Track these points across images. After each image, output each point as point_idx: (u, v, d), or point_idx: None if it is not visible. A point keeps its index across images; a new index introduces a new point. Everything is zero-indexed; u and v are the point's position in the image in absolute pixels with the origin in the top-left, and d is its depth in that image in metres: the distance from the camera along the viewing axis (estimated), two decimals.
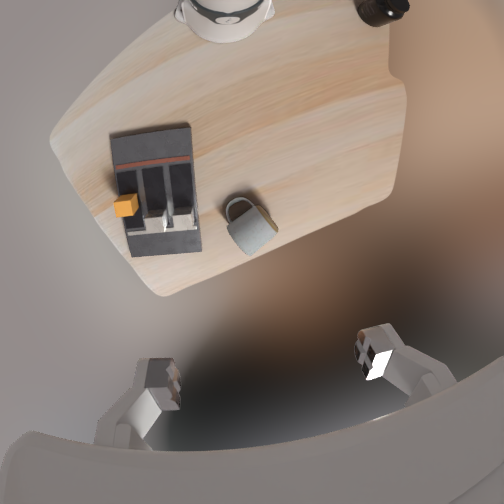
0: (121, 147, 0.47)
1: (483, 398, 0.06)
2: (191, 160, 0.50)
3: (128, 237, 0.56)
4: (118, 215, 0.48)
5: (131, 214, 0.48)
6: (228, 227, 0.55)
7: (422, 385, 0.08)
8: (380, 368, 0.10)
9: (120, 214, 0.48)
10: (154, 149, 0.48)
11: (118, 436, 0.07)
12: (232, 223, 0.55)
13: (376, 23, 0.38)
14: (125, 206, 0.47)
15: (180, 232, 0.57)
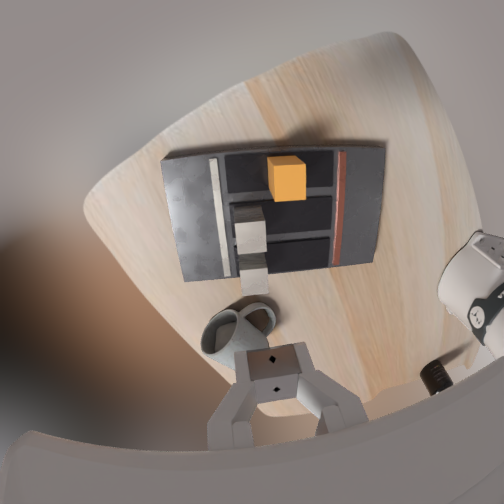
0: (370, 164, 0.30)
1: (483, 398, 0.06)
2: (331, 265, 0.37)
3: (204, 158, 0.29)
4: (277, 171, 0.25)
5: (277, 198, 0.26)
6: (240, 322, 0.37)
7: (323, 418, 0.08)
8: (289, 390, 0.10)
9: (279, 175, 0.25)
10: (356, 216, 0.33)
11: (238, 436, 0.07)
12: (245, 323, 0.38)
13: (425, 378, 0.55)
14: (295, 188, 0.26)
15: (216, 252, 0.34)
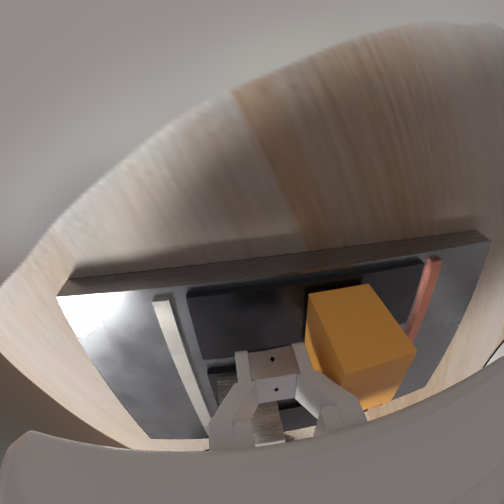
0: (466, 271, 0.14)
1: (483, 398, 0.06)
2: None
3: (140, 296, 0.12)
4: (351, 379, 0.08)
5: None
6: None
7: (321, 418, 0.08)
8: (288, 390, 0.10)
9: (352, 385, 0.09)
10: (424, 348, 0.17)
11: (239, 436, 0.07)
12: None
13: None
14: (377, 394, 0.09)
15: (193, 418, 0.18)
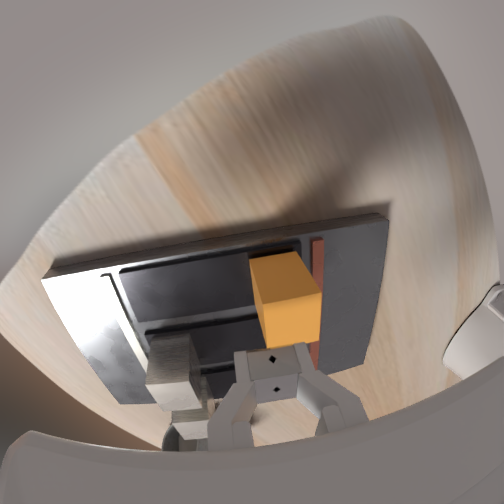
0: (364, 250, 0.19)
1: (483, 398, 0.06)
2: None
3: (92, 275, 0.17)
4: (270, 311, 0.14)
5: None
6: (201, 441, 0.25)
7: (323, 418, 0.08)
8: (289, 390, 0.10)
9: (273, 317, 0.14)
10: (340, 323, 0.22)
11: (238, 436, 0.07)
12: None
13: None
14: (301, 330, 0.15)
15: None
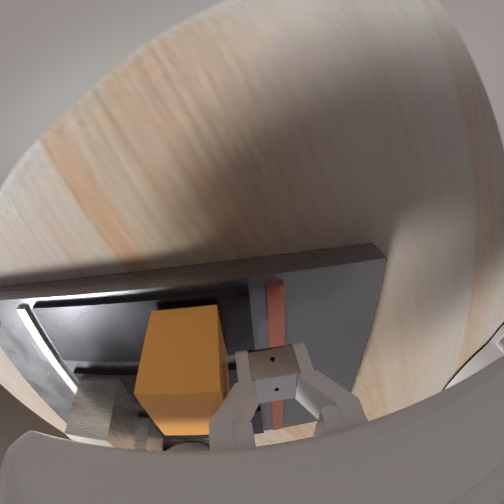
0: (347, 297, 0.14)
1: (483, 398, 0.06)
2: (270, 428, 0.20)
3: (12, 304, 0.12)
4: (148, 401, 0.08)
5: (167, 432, 0.09)
6: None
7: (321, 418, 0.08)
8: (288, 390, 0.10)
9: (156, 408, 0.08)
10: None
11: (239, 436, 0.07)
12: None
13: None
14: (202, 423, 0.09)
15: None
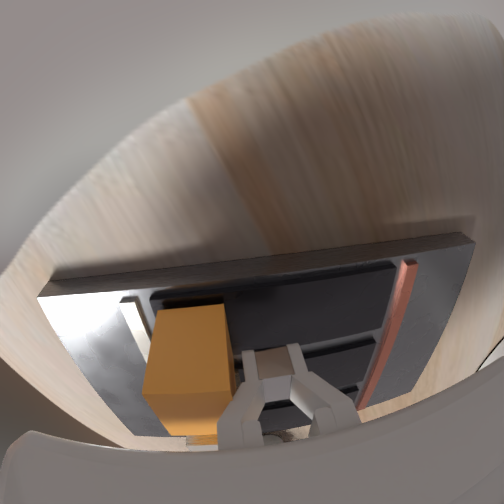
0: (448, 275, 0.14)
1: (483, 398, 0.06)
2: None
3: (109, 298, 0.12)
4: (155, 401, 0.08)
5: (174, 432, 0.09)
6: None
7: (315, 420, 0.08)
8: (282, 391, 0.10)
9: (163, 408, 0.08)
10: (405, 353, 0.17)
11: (247, 435, 0.07)
12: None
13: None
14: (210, 422, 0.09)
15: None
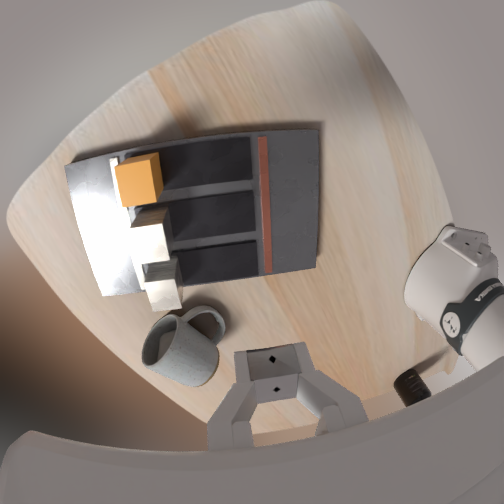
0: (300, 150, 0.26)
1: (483, 398, 0.06)
2: (263, 274, 0.32)
3: (105, 158, 0.23)
4: (119, 172, 0.20)
5: (124, 204, 0.21)
6: (180, 328, 0.31)
7: (323, 418, 0.08)
8: (289, 390, 0.10)
9: (121, 177, 0.20)
10: (288, 214, 0.29)
11: (238, 436, 0.07)
12: (187, 330, 0.32)
13: (399, 389, 0.53)
14: (141, 190, 0.21)
15: (129, 262, 0.29)
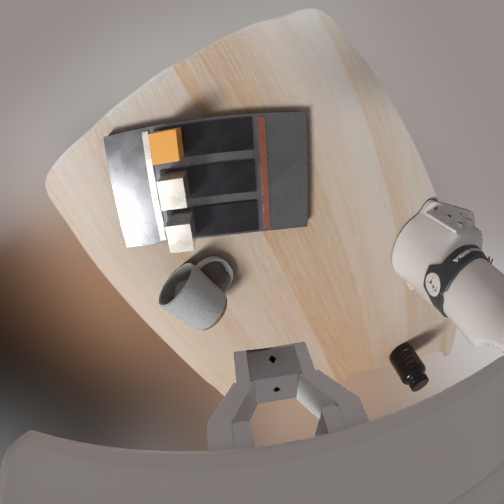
0: (291, 127, 0.33)
1: (483, 398, 0.06)
2: (262, 229, 0.39)
3: (137, 131, 0.30)
4: (151, 138, 0.26)
5: (154, 162, 0.28)
6: (195, 271, 0.38)
7: (323, 418, 0.08)
8: (289, 390, 0.10)
9: (153, 142, 0.27)
10: (282, 178, 0.36)
11: (238, 436, 0.07)
12: (200, 274, 0.39)
13: (394, 361, 0.58)
14: (168, 151, 0.27)
15: (152, 216, 0.36)
